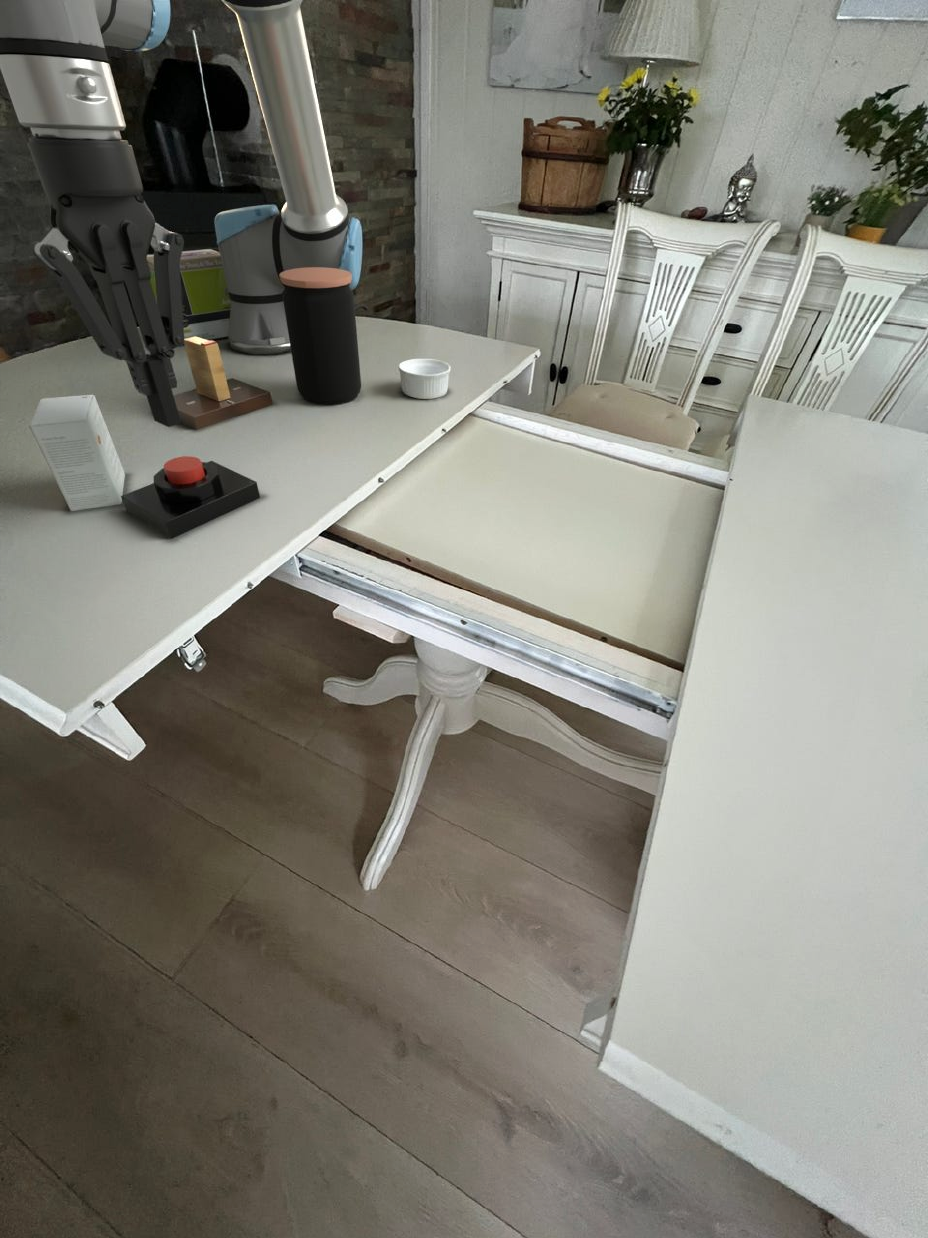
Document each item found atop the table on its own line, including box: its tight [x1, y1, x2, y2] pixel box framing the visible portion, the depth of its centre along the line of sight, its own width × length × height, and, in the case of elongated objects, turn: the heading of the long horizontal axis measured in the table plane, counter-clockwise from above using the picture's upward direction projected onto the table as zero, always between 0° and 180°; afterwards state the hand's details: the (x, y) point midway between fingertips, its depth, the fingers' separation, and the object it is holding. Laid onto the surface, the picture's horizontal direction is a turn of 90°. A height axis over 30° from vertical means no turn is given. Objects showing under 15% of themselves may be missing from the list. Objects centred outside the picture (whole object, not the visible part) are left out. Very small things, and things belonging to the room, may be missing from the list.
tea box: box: [147, 248, 231, 341], centre depth 116 cm, size 15×10×15 cm, turn 129°
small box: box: [28, 394, 126, 512], centre depth 66 cm, size 8×6×10 cm
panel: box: [173, 377, 274, 431], centre depth 90 cm, size 14×10×2 cm
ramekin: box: [398, 358, 452, 400], centre depth 98 cm, size 9×9×4 cm
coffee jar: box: [279, 267, 362, 406], centre depth 91 cm, size 11×11×18 cm
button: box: [163, 455, 205, 485], centre depth 65 cm, size 4×4×2 cm
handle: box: [183, 336, 231, 402], centre depth 87 cm, size 6×2×8 cm, turn 53°
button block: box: [121, 460, 261, 540], centre depth 67 cm, size 12×9×4 cm
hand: (167, 421), depth 61 cm, fingers closed
